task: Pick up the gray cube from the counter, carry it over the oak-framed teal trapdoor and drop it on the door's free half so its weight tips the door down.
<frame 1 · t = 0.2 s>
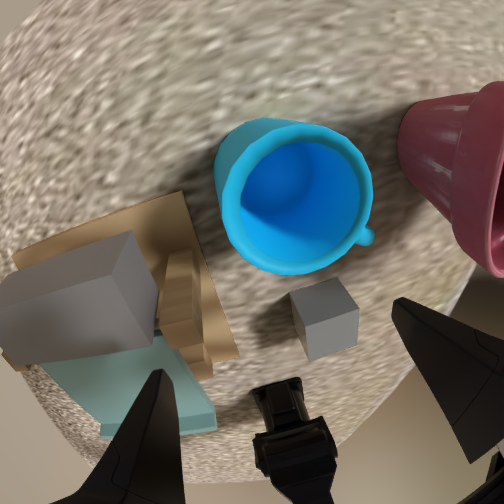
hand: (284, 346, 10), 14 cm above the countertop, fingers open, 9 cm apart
plant pot: (428, 145, 22), on the countertop
trapdoor: (107, 367, 18), point 8 cm above the countertop, hinge at 0.0°
frame: (107, 279, 23), on the countertop
mug: (287, 181, 22), on the countertop
gray cube: (315, 303, 28), on the countertop
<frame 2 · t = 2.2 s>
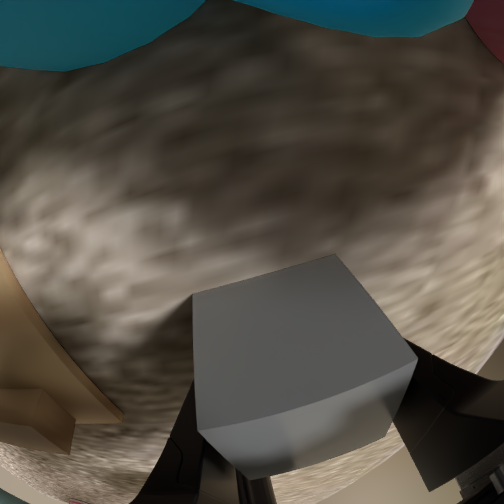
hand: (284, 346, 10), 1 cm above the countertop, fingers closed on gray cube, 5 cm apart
pill bottle: (81, 501, 27), on the countertop
gray cube: (277, 326, 11), on the countertop, touching gripper
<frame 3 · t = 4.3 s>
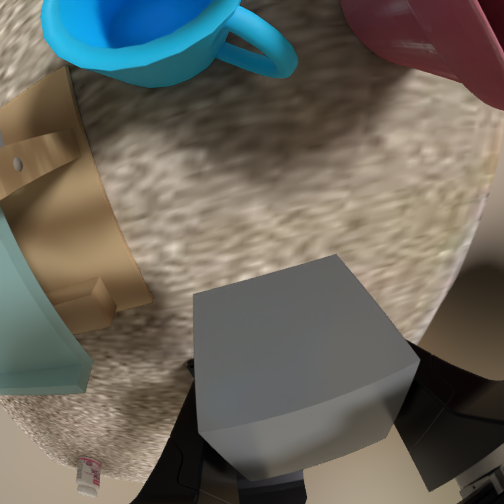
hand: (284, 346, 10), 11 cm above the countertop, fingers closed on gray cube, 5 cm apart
plant pot: (388, 15, 13), on the countertop
frame: (0, 188, 14), on the countertop
pill bottle: (90, 459, 37), on the countertop
mug: (189, 40, 13), on the countertop
gray cube: (277, 326, 11), point 10 cm above the countertop, touching gripper
when the fingers open (11 cm above the countertop, at t = 6.0 s): gray cube drops 5 cm, resting on trapdoor.
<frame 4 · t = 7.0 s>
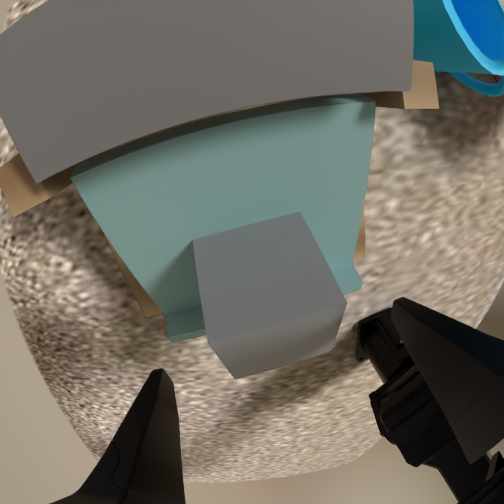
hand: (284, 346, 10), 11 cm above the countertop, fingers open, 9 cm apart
trapdoor: (234, 176, 11), point 6 cm above the countertop, hinge at -20.0°, touching frame, gray cube
frame: (211, 108, 15), on the countertop
mug: (417, 42, 14), on the countertop
gray cube: (253, 259, 15), point 5 cm above the countertop, tilted 20°, touching trapdoor
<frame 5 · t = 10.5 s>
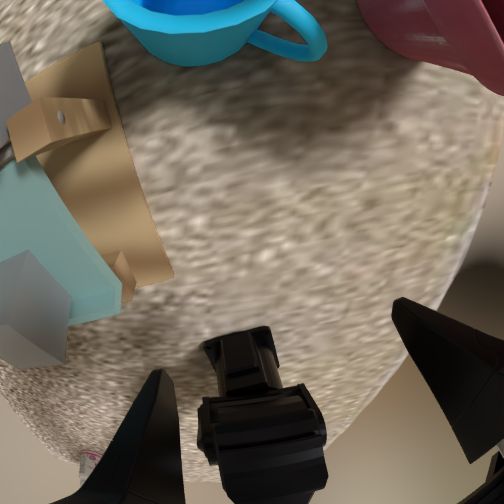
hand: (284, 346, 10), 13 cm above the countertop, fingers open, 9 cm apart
plant pot: (399, 14, 14), on the countertop
frame: (20, 160, 15), on the countertop
pill bottle: (93, 453, 37), on the countertop
mug: (221, 25, 14), on the countertop
gray cube: (27, 283, 14), point 5 cm above the countertop, tilted 20°, touching trapdoor
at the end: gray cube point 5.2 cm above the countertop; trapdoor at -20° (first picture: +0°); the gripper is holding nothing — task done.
